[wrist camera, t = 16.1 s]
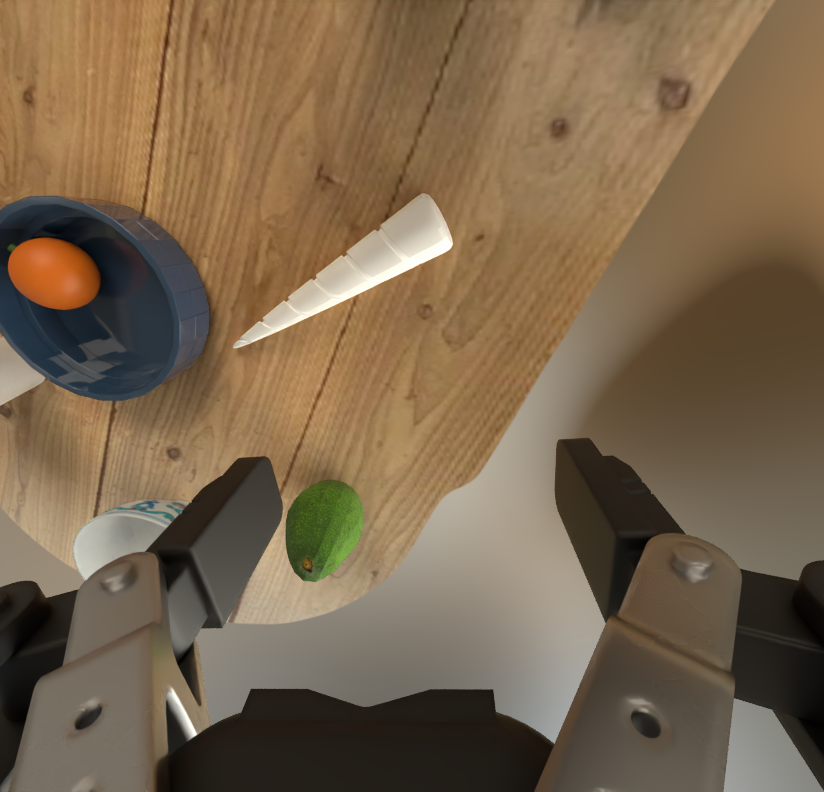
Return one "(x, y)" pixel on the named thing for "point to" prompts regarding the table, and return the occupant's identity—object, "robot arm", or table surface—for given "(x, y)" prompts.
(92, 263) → the mandarin
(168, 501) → the chinaware
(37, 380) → the dixie cup
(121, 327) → the bowl
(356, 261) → the unicorn horn
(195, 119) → the table surface
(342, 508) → the avocado
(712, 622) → the robot arm
